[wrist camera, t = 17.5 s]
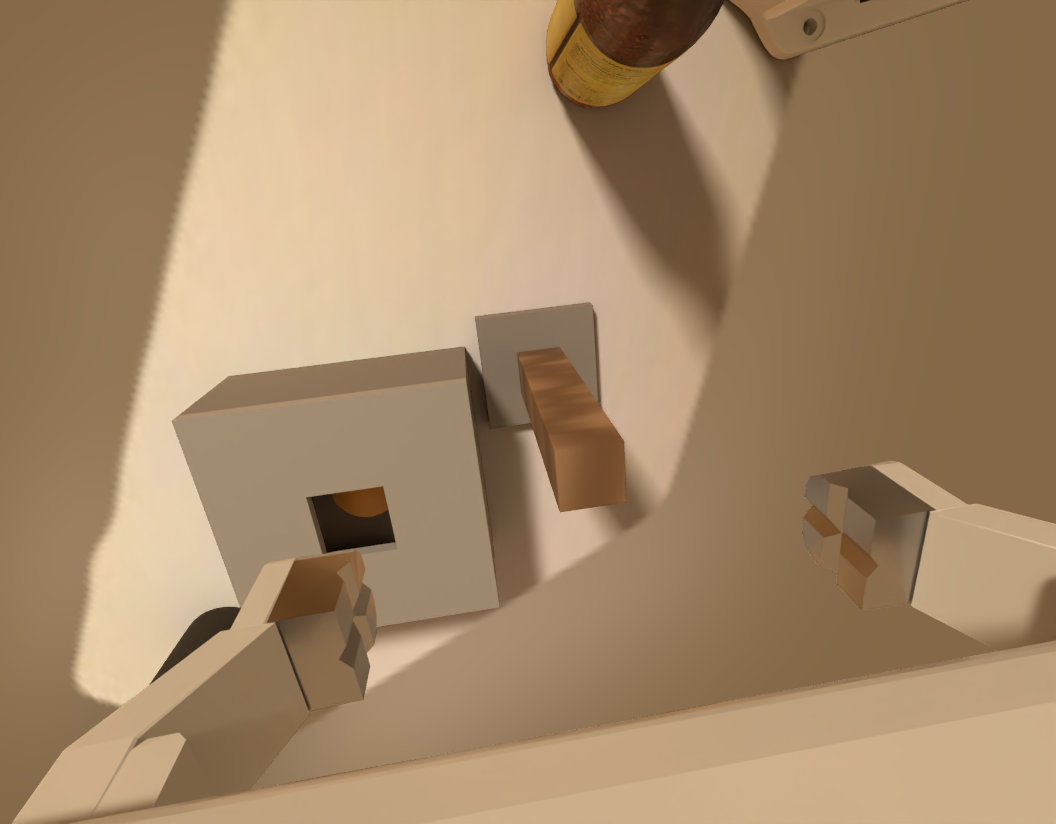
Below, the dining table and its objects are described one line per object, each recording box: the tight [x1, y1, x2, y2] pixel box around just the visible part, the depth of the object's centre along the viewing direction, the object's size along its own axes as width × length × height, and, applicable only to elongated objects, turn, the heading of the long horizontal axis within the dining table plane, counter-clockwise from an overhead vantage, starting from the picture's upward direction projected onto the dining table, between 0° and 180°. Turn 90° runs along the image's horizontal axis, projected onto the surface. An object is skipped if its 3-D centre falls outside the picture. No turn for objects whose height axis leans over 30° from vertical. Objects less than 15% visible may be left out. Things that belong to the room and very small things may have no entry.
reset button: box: [332, 486, 388, 517], centre depth 39 cm, size 4×4×2 cm
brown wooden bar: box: [517, 347, 626, 512], centre depth 31 cm, size 3×3×16 cm
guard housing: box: [172, 347, 499, 627], centre depth 37 cm, size 16×16×8 cm
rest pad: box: [475, 303, 598, 429], centre depth 39 cm, size 8×8×1 cm
